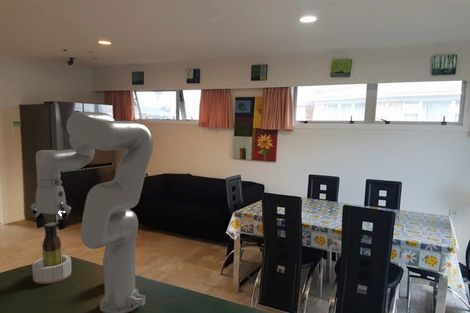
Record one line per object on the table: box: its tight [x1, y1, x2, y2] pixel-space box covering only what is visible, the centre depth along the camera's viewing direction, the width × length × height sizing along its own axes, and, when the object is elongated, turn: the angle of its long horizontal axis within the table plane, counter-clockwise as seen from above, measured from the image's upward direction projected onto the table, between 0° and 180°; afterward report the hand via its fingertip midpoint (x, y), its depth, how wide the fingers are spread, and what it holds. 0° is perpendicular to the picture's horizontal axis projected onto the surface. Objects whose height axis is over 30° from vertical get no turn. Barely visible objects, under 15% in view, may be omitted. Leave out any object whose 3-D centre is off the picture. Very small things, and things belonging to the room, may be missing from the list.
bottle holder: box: [31, 253, 72, 285], centre depth 123 cm, size 13×13×6 cm
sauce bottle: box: [41, 221, 63, 267], centre depth 122 cm, size 7×6×20 cm
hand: (51, 228), depth 121 cm, fingers open, 9 cm apart
